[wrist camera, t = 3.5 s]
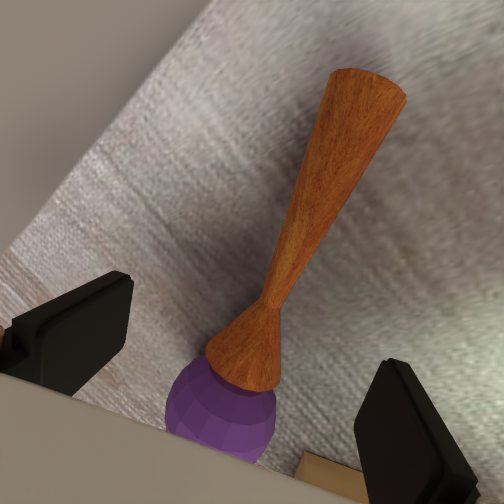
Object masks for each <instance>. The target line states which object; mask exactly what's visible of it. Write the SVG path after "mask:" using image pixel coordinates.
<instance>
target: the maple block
mask: <svg viewBox="0 0 504 504" xmlns="http://www.w3.org/2000/svg"><path fill="white" fill-rule="evenodd" d="M293 478H294V479H297V480H300V481H302V482H305V483H308V484H311V485H313V486H316V487H319V488H321V489H324V490H327V491H329V492H332V493H335V494H337V495H340V496H343V497H345V498H348V499H351V500H353V501H356V502H359V503H361V504H369V499H368V494H367V490H366V485H365V480H364V476H363V473H362V472H359V471H356V470H354V469H351V468H348V467H346V466H343V465H340V464H338V463H335V462H332V461H330V460H327V459H324V458H322V457H319V456H316V455H314V454H311V453H308V452H304V453H303V456H302V458H301V460H300V463H299V465H298V468H297V470H296V472H295V475H294V477H293Z"/></svg>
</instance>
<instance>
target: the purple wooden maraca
mask: <svg viewBox="0 0 504 504" xmlns="http://www.w3.org/2000/svg"><path fill="white" fill-rule="evenodd" d="M405 104H406V94H405V93H404V92H403V91H402V89H401V88H400V87H399V86H398V85H396V84H395V83H393V82H392V81H390V80H388V79H387V78H385V77H383V76H380V75H377V74H375V73H372V72H369V71H365V70H359V69H353V68H348V69H338V70H336V71H334V72H332V73H331V74H330V76H329V79H328V82H327V85H326V88H325V92H324V95H323V98H322V101H321V104H320V108H319V111H318V114H317V117H316V120H315V124H314V127H313V130H312V133H311V136H310V140H309V143H308V146H307V149H306V152H305V156H304V159H303V162H302V165H301V168H300V172H299V175H298V178H297V181H296V184H295V188H294V191H293V194H292V197H291V200H290V204H289V207H288V210H287V213H286V216H285V220H284V223H283V226H282V229H281V232H280V236H279V239H278V242H277V245H276V248H275V252H274V255H273V258H272V261H271V264H270V268H269V271H268V274H267V277H266V280H265V284H264V287H263V290H262V293H261V296H260V298H259V299H258V300H257V301H256V302H255V303H253V304H252V305H251V306H250V307H249V308H248V309H246V310H245V311H244V312H243V313H242V314H240V315H239V316H238V317H237V318H236V319H234V320H233V321H232V322H231V323H230V324H228V325H227V326H226V327H225V328H224V329H222V330H221V331H220V332H219V333H218V334H216V335H215V336H214V337H213V338H212V339H211V340H210V341H209V343H208V344H207V346H206V354H204V355H202V356H200V357H198V358H196V359H194V360H193V361H192V362H191V363H190V364H189V365H188V366H186V367H185V368H184V369H183V370H182V371H181V373H180V374H179V376H178V377H177V379H176V380H175V381H174V383H173V385H172V388H171V390H170V393H169V395H168V398H167V401H166V411H165V425H166V431H167V432H170V433H173V434H175V435H178V436H181V437H184V438H186V439H189V440H192V441H195V442H197V443H200V444H203V445H205V446H208V447H211V448H214V449H216V450H219V451H222V452H224V453H227V454H230V455H233V456H235V457H238V458H241V459H243V460H246V461H249V462H252V463H254V464H255V463H256V461H257V460H258V458H259V457H260V456H261V454H262V453H263V452H264V450H265V449H266V447H267V445H268V443H269V441H270V439H271V437H272V435H273V434H274V428H275V419H276V396H275V394H274V391H273V389H274V388H275V387H276V386H277V385H278V384H279V383H280V375H281V358H280V307H281V305H282V303H283V302H284V300H285V299H286V297H287V295H288V294H289V292H290V290H291V289H292V287H293V286H294V284H295V282H296V281H297V279H298V277H299V276H300V274H301V273H302V271H303V269H304V268H305V266H306V265H307V263H308V261H309V260H310V258H311V256H312V255H313V253H314V252H315V250H316V248H317V247H318V245H319V244H320V242H321V240H322V239H323V237H324V235H325V234H326V232H327V231H328V229H329V227H330V226H331V224H332V222H333V221H334V219H335V218H336V216H337V214H338V213H339V211H340V210H341V208H342V206H343V205H344V203H345V201H346V200H347V198H348V197H349V195H350V193H351V192H352V190H353V188H354V187H355V185H356V184H357V182H358V180H359V179H360V177H361V176H362V174H363V172H364V171H365V169H366V167H367V166H368V164H369V163H370V161H371V159H372V158H373V156H374V155H375V153H376V151H377V150H378V148H379V146H380V145H381V143H382V142H383V140H384V138H385V137H386V135H387V133H388V132H389V130H390V129H391V127H392V125H393V124H394V122H395V121H396V119H397V117H398V116H399V114H400V112H401V111H402V109H403V108H404V106H405Z"/></svg>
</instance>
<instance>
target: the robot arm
mask: <svg viewBox="0 0 504 504" xmlns="http://www.w3.org/2000/svg"><path fill="white" fill-rule="evenodd" d="M133 286H134V281H133V280H131V277H130V275H128V274H125V273H122V272H119V271H115V270H114V271H111V272H109V273H107V274H105V275H103V276H101V277H99V278H97V279H94V280H92V281H90V282H88V283H86V284H84V285H82V286H80V287H78V288H76V289H74V290H72V291H69V292H67V293H65V294H63V295H61V296H59V297H57V298H55V299H53V300H51V301H49V302H47V303H44V304H42V305H40V306H38V307H36V308H34V309H32V310H30V311H28V312H26V313H24V314H22V315H19V316H17V317H15V318H13V319H12V326H11V327H9V328H7V329H4V328H3V327H2V326H1V325H0V504H361V503H359V502H356V501H353V500H351V499H348V498H345V497H343V496H340V495H337V494H335V493H332V492H329V491H327V490H324V489H321V488H319V487H316V486H313V485H311V484H308V483H305V482H302V481H300V480H297V479H294V478H292V477H289V476H286V475H284V474H281V473H278V472H276V471H273V470H270V469H268V468H265V467H262V466H260V465H257V464H254V463H252V462H249V461H246V460H243V459H241V458H238V457H235V456H233V455H230V454H227V453H224V452H222V451H219V450H216V449H214V448H211V447H208V446H205V445H203V444H200V443H197V442H195V441H192V440H189V439H186V438H184V437H181V436H178V435H175V434H173V433H170V432H167V431H164V430H162V429H159V428H156V427H154V426H151V425H148V424H145V423H142V422H140V421H137V420H134V419H131V418H129V417H126V416H123V415H120V414H117V413H115V412H112V411H109V410H106V409H104V408H101V407H98V406H95V405H92V404H90V403H87V402H84V401H81V400H79V399H76V398H73V397H72V396H73V395H74V394H75V393H76V392H77V391H78V390H79V389H80V388H81V387H82V386H83V385H84V384H85V383H87V382H88V381H89V380H90V379H91V378H92V377H93V376H94V375H95V374H96V373H97V372H98V371H99V370H100V369H101V368H102V367H103V366H105V365H106V364H107V363H108V362H109V361H110V360H111V359H112V358H113V357H114V356H115V355H116V354H117V353H118V352H119V351H120V350H121V349H122V348H123V346H124V344H125V340H126V333H127V327H128V320H129V313H130V307H131V300H132V293H133ZM354 434H355V438H356V443H357V448H358V452H359V457H360V462H361V466H362V471H363V476H364V480H365V485H366V490H367V494H368V499H369V504H504V502H502V501H500V500H498V499H496V498H493V497H489V496H481V495H480V493H479V491H478V490H477V488H476V484H477V483H478V479H477V477H476V476H475V474H474V472H473V471H472V469H471V467H470V466H469V464H468V462H467V461H466V459H465V457H464V456H463V454H462V452H461V450H460V449H459V447H458V445H457V444H456V442H455V440H454V439H453V437H452V435H451V434H450V432H449V430H448V429H447V427H446V425H445V423H444V422H443V420H442V418H441V417H440V415H439V413H438V412H437V410H436V408H435V407H434V405H433V403H432V402H431V400H430V398H429V397H428V395H427V393H426V391H425V390H424V388H423V386H422V385H421V383H420V381H419V380H418V378H417V376H416V375H415V373H414V371H413V370H412V368H411V366H410V365H409V364H408V363H406V362H403V361H399V360H396V359H393V358H389V359H388V360H387V361H386V360H383V361H382V362H381V364H380V366H379V368H378V370H377V372H376V375H375V377H374V379H373V381H372V383H371V386H370V388H369V390H368V392H367V394H366V397H365V399H364V401H363V403H362V405H361V408H360V410H359V412H358V414H357V416H356V419H355V422H354Z"/></svg>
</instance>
